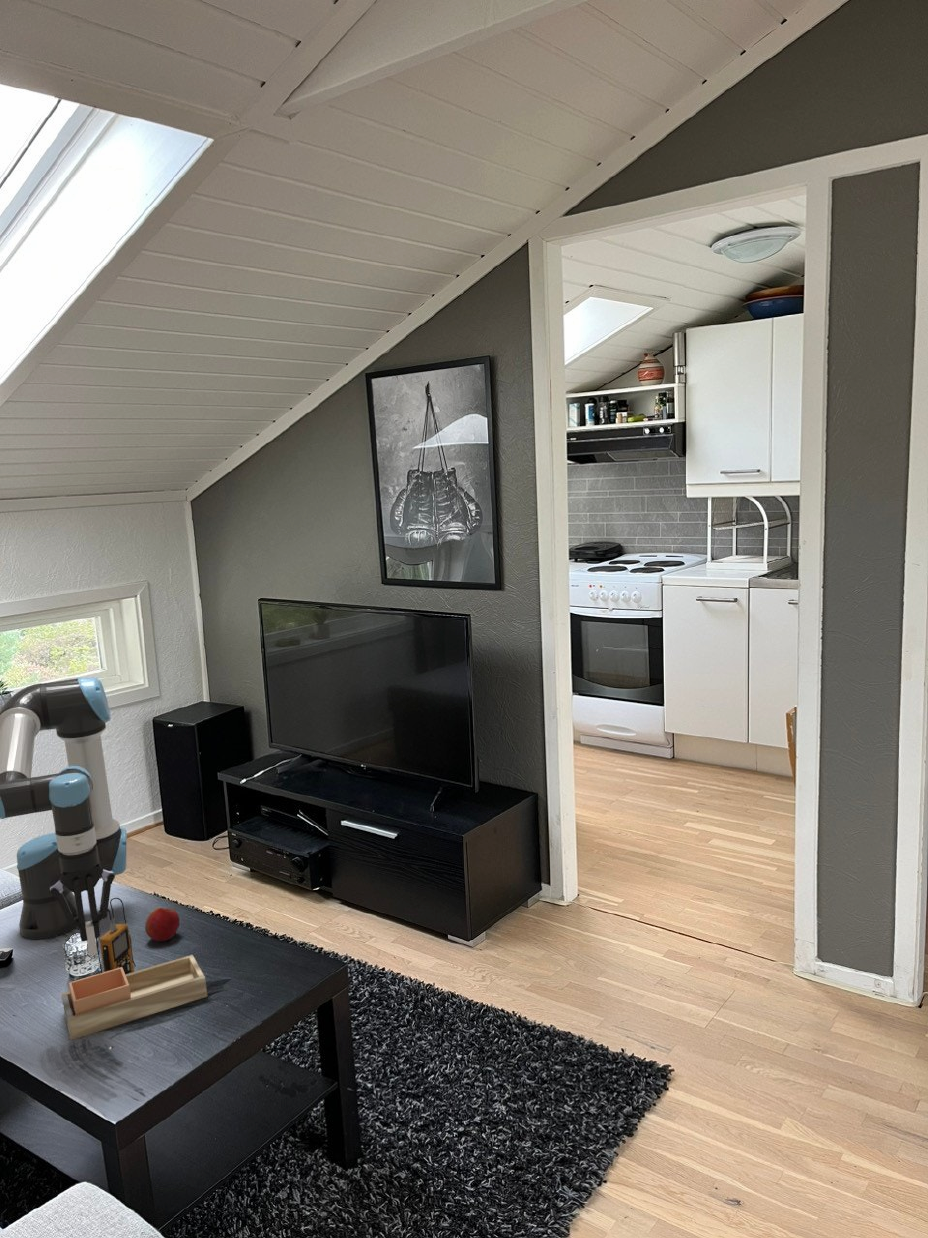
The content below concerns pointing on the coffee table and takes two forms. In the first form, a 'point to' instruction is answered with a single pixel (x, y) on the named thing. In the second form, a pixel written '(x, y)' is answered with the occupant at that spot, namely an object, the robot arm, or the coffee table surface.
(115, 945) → the multimeter
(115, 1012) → the bay
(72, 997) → the box
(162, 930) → the apple
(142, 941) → the coffee table surface
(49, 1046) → the coffee table surface
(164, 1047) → the coffee table surface
